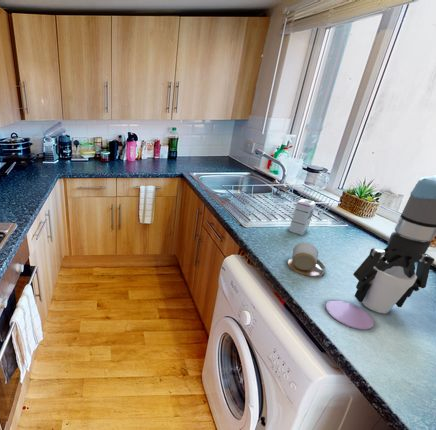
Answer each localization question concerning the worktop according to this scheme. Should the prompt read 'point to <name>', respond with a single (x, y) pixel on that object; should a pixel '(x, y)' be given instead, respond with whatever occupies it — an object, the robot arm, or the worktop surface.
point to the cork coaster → (304, 272)
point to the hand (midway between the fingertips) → (377, 301)
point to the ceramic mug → (307, 257)
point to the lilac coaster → (349, 315)
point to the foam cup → (387, 289)
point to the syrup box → (302, 216)
